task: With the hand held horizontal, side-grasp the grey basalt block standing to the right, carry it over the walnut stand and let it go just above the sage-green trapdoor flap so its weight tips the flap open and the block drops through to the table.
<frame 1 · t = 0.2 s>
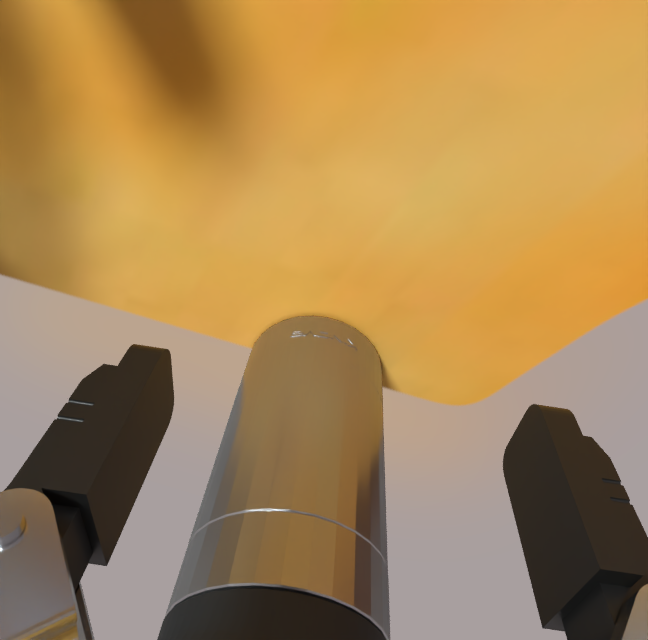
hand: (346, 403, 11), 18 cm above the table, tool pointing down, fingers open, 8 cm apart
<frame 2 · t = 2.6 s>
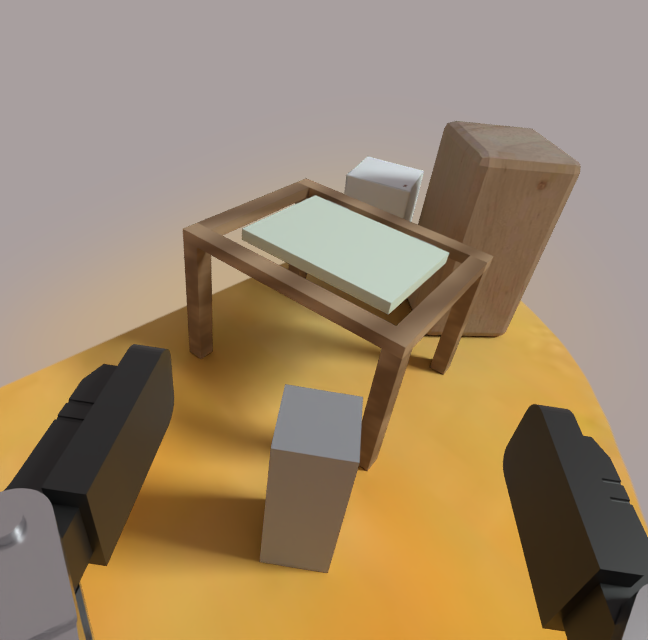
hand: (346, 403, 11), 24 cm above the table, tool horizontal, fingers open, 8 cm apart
wooden block: (448, 312, 57), on the table
basalt block: (298, 534, 33), on the table
supplement box: (367, 268, 62), on the table
flap: (348, 245, 40), point 13 cm above the table, hinge at 0.0°
stand: (323, 359, 48), on the table
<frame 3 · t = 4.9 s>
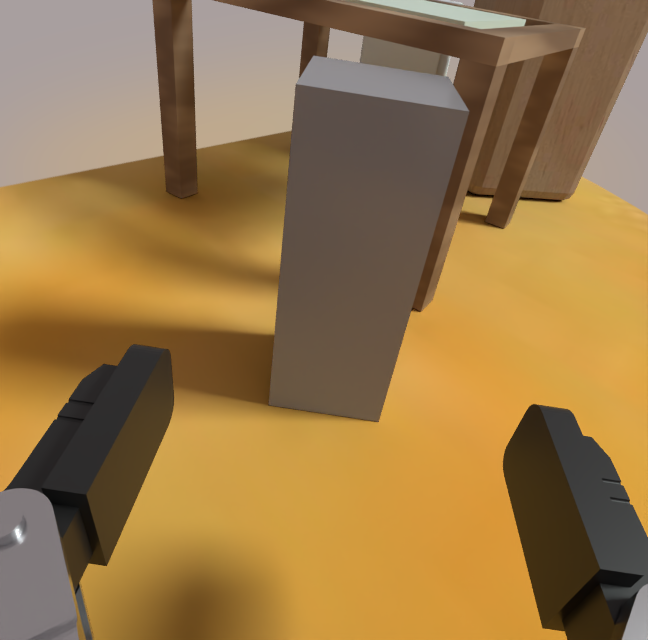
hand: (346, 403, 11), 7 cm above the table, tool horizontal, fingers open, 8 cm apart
wooden block: (496, 180, 45), on the table
basalt block: (327, 375, 21), on the table
supplement box: (390, 142, 51), on the table
flap: (385, 8, 29), point 13 cm above the table, hinge at 0.0°
stand: (346, 207, 36), on the table
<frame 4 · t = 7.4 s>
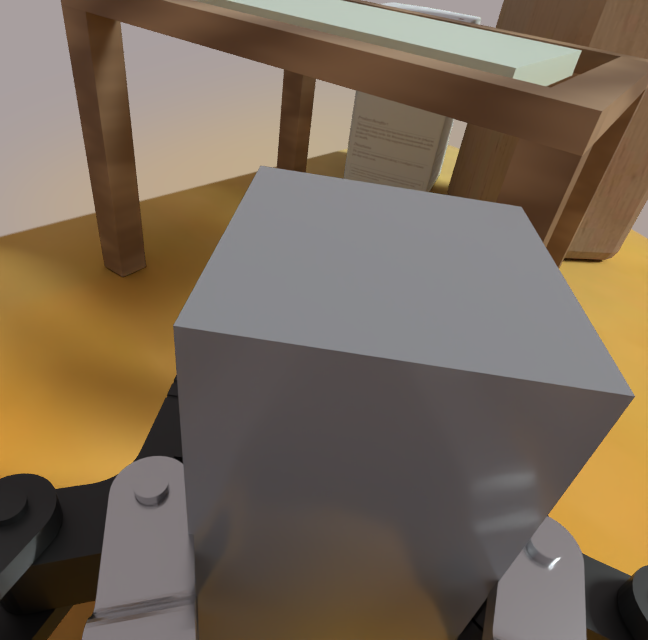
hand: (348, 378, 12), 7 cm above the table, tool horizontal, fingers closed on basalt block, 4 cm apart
wooden block: (521, 231, 38), on the table
basalt block: (303, 624, 14), on the table, touching gripper
supplement box: (392, 179, 43), on the table
flap: (389, 34, 21), point 13 cm above the table, hinge at 0.0°
stand: (338, 282, 28), on the table
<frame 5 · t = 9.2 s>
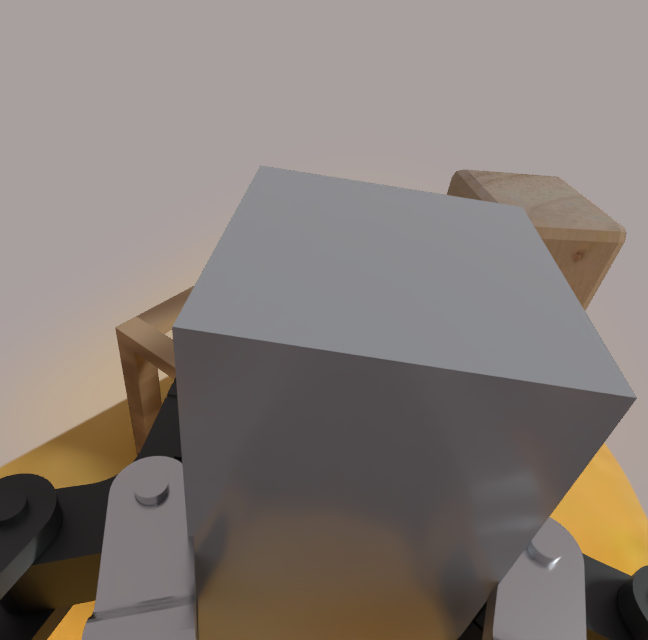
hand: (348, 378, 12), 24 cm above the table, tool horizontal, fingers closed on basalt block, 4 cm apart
wooden block: (456, 386, 48), on the table
basalt block: (303, 625, 14), point 17 cm above the table, touching gripper
stand: (306, 464, 38), on the table
when the fingers open (22 cm above the table, at t = 11.2 s): basalt block drops 6 cm and tips over, resting on flap, stand.
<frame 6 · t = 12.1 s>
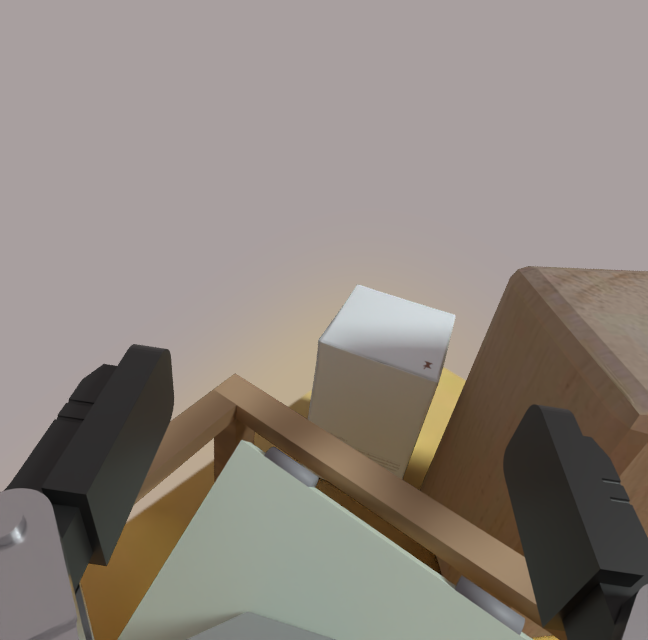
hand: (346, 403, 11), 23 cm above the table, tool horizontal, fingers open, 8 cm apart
wooden block: (501, 559, 33), on the table
supplement box: (358, 454, 38), on the table
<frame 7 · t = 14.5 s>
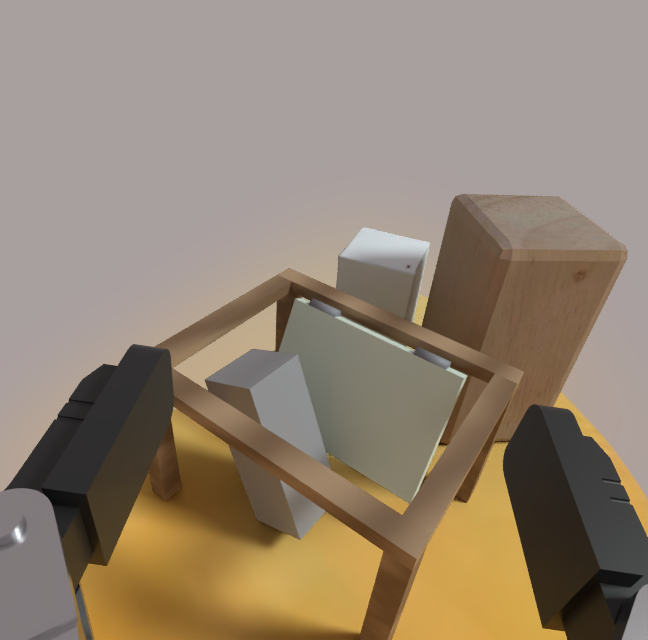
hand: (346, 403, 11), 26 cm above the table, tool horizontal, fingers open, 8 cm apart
wooden block: (468, 407, 48), on the table
basalt block: (297, 508, 36), point 1 cm above the table, tilted 24°
supplement box: (369, 351, 54), on the table
flap: (353, 392, 36), point 8 cm above the table, hinge at -66.0°
stand: (318, 490, 39), on the table
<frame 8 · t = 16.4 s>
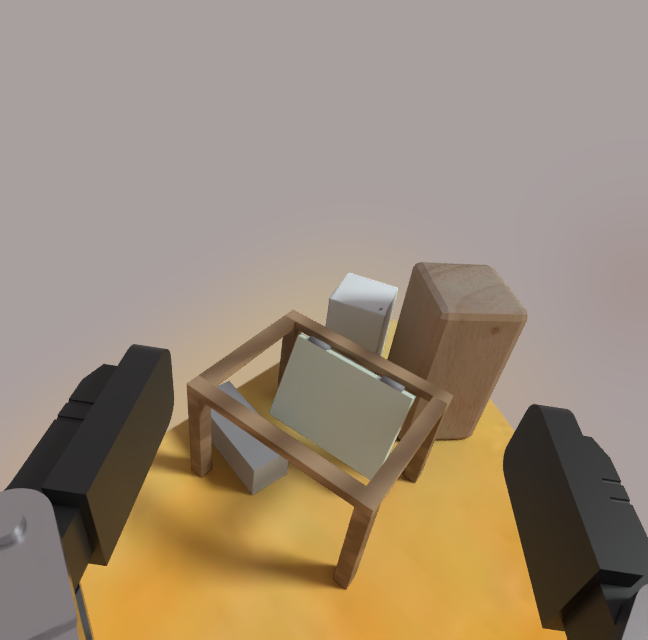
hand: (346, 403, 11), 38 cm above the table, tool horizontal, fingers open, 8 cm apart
wooden block: (422, 413, 64), on the table
basalt block: (271, 473, 51), point 2 cm above the table, tilted 90°
supplement box: (349, 366, 69), on the table
flap: (338, 403, 52), point 8 cm above the table, hinge at -66.0°
stand: (309, 472, 54), on the table
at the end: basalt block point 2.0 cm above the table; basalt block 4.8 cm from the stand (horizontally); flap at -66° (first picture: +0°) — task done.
